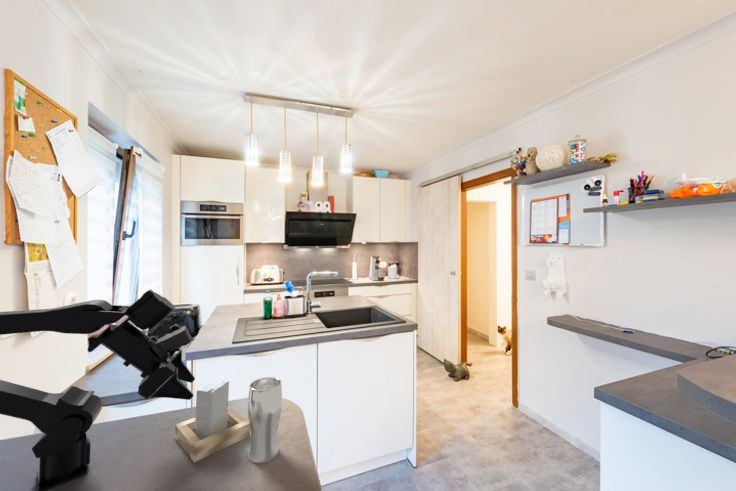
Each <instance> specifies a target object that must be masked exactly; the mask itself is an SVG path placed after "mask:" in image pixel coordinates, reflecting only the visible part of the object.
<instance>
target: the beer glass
mask: <svg viewBox="0 0 736 491" xmlns="http://www.w3.org/2000/svg"><path fill="white" fill-rule="evenodd" d="M248 386H249V388H248V398H247V400H248V401H247V415H248V416H247V417H248V418H247V419H248V422H249V425H250V439H251V440H250V446H249V451H248V459H249V461H250V462H252V463H255V464H265V463H268V462H270V461H272V460H273V459H275V458H276V457H277V456H278V454H279V450H280V449H279V442H278V430H279V424H280V419H281V413H282V406H283V405H282V404H283V391H282V380H281V379H280V378H278V377H274V376H273V377H269V376H268V377H267V376H266V377H261V378H257V379H254V380H253V381H251V383H250V384H249V385H248Z"/></svg>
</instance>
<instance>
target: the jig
mask: <svg viewBox="0 0 736 491" xmlns="http://www.w3.org/2000/svg"><path fill="white" fill-rule="evenodd" d="M195 421H196V416H195V417H192V418H190V419H186V420H184V421H182V422H178V423H176V424H175V425H174V426H175V427H174V439H175V440H176V441H177V442H178V444H179V445H180V447H181V448H182V449H183V450H184V451H185V453H186V454H187V456H188V457H189V458H190V459H191V461H192V462H193V463H196V462H198V461H200V460H202V459H203V460H204V459H205V458H208V457H209V456H211V455H213V454H215V453H217V452H219V451H222V450H224V449H226V448H227V447H230V446H232V445H234V444H236V443H239V442H241V441H242V440H244V439H245V440H246V438H249V437H251V431H250V425H249V420H247V419H246V418H244V416H242V415H241V414H239V413H238V412H237V411H236V410H234V409H233V408H232V407H231V406H229V405H228V425H227V429H225V430H223V431H220V432H218V433H216V434H214V435H211V436H209V437H207V438H204V439H202V440H200V439H199V438H198V437H197V436H196V435H195Z"/></svg>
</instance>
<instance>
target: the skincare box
mask: <svg viewBox="0 0 736 491" xmlns="http://www.w3.org/2000/svg"><path fill="white" fill-rule="evenodd" d="M229 389H230V381H228V380H223V379H221V380H220V379H213V380H211V381H210V382H208V383H207V384H205V385H203V386H202V387H201V388H198V389H197V390H196V397H195V399H196V400H195V417H196V421H195V435H196V436H197V437H198V438H199V439H200V440H202V439H204V438H207V437H209V436H211V435H214V434H216V433H218V432H220V431H223V430H225V429H227V428H228V426H227V425H228V406H229V393H230V392H229V391H230V390H229Z"/></svg>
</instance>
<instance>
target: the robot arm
mask: <svg viewBox="0 0 736 491" xmlns="http://www.w3.org/2000/svg"><path fill="white" fill-rule="evenodd" d="M174 311H176V307H175V305H174V304H173V303H172V302H171V301H170V300H169V299H167V298H166V297H165V296H164V297H163V296H162V295H160V294H159V293H157V292H155V291H154V290H152V289H148V290H147V291H146V292H144V293H143V294H142V295H141V297H139V299H137V300H136V301H134V303H132V304H131V305H121V304H111V303H110V302H108V301H107V300H103V299H92V300H87V301H81V302H78V303H72V304H69V305H63V306H59V307H54V308H43V309H28V310H27V309H26V310H13V311H12V310H10V311H0V336H1V335H12V334H22V333H25V334H26V333H35V332H36V333H37V332H54V333H60V334H74V335H91V334H92V335H91V336H89V337H88V338H87V340H88V347H87V352H88V353H92V352H93V351H94V350H96V349H97V348H98V347H100V345H102V346H103V347H104V348H106V349H108V350H109V351H110V352H112V353H113V354H115V355H116V356H117V357H118V358H120V359H122V360H123V363H122V364H123V366H125V367H126V368H127V367H129V366H130V365H131V367H133V368H135V369H136V370H137V371H138V372H141V373H140V375H139V376H140V378H142V379H141V381H140V383H139V385H138V391H137V394H138V395H139V396H140V397H142V398H143V399H145V400H148V399H149V398H150V399H153V398H162V399H163V398H164V399H165V398H168V399H178V400H179V399H180V400H186V401H189V400H191V399H192V398H193V397H194V393H193V392H192V391H191V390H190V389H189V388H188V387H187V385H185V384H184V382H186V383H193V382H194V381H195V379H196V378H195V376H194V375H193V373H192V372H191V370H190V369H189V368H188V367H187V365H186V363H184V361H183V349H182V347H184V346H187V345H190V344H191V343H192V338H193V336H192V335H191V334H190V332H189V329H188V328H187V326H186V325H182V326H181V325H179V324H178V323H175V324H174V325H171V326H170V327H169V331H168V333H166V334H165V335H163V336H161V337H160V338H159V337H157V336H156V335H151V336H149V335H147V334H146V333H145V332H143V331H146V330H147V329H150V330H153V329H155V328H156V327H157V326H158V325H159V324H161V323H162V322H163V321H164V320H165V319H166V318H167V317H169V316H170V315H171V314H172V313H173V312H174ZM125 316H127V318H125V320H124V321H122V322H121V323H119V324H116V323H118V322H119V321H120V320H121V319H122V318H124V317H125ZM107 325H109V326H108V327H106V328H105V329H103V331H101V333H99V334H94V333H96V332H98V331H99V330H101V329H102V328H104V327H105V326H107ZM142 330H143V331H142ZM176 352H177V353H176ZM182 381H183V382H182ZM94 393H95V391H94V390H84V389H81V388H79V387H78V386H73V385H71V386H70V387H69V388H68V389H67V390H65V392H60V393H59V392H57V393H52V392H48V391H43V390H40V389H37V388H32V387H29V386H25V385H22V384H18V383H13V382H10V381H6V380H2V379H0V415H3V416H8V417H12V418H16V419H19V420H20V419H21V420H25V421H29V422H30V423H31V424H32V425H33V426H34V427H36V428H37V429H38V430H39V431H40V432H41V433H42V434H43V435H42V436H41V438H39V439H38V441H37V442H36V443H35V444H34V445H33V446H32V448H31V450H32V452H33V454H34V457H35V458H36V459H38V469H37V470H38V471H36V484H37V491H41V490H43V491H46V490H47V489H50V488H52V487H54V486H58V485H61V484H63V483H65V482H67V481H69V480H72V479H75V478H77V477H80V476H82V475H85V474H87V473H88V471H89V470H88V465H90V462H91V440H90V438H88V435H87V432H88V431H89V430H90V428H91V427H92V425H93V424H94V422H95V421H96V419H97V418H98V417H99V415H100V413H101V412H102V408H103V403H102V398H101V397H99V396H98V395H95V394H94Z"/></svg>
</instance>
